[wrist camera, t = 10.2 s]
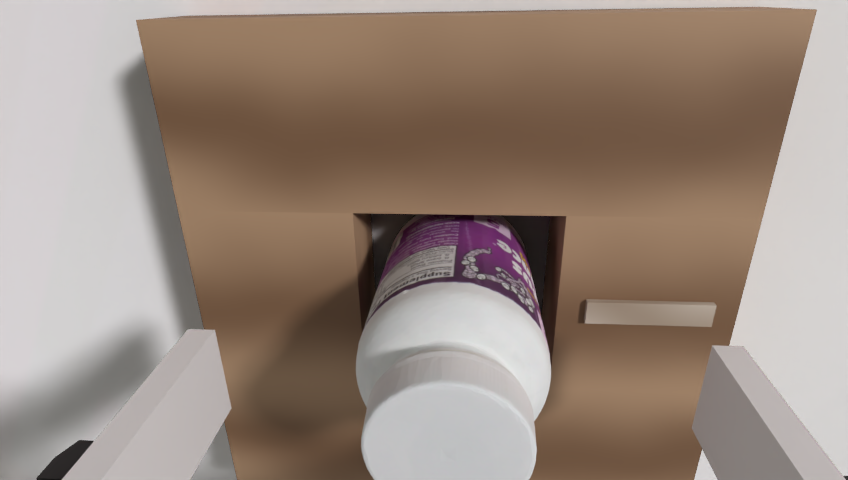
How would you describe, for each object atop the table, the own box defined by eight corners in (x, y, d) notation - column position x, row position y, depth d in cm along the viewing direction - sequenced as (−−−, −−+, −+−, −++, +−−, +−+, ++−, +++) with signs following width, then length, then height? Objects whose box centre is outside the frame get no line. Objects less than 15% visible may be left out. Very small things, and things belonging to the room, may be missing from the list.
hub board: (187, 15, 18) (131, 20, 15) (759, 6, 16) (821, 10, 13) (263, 433, 25) (236, 490, 22) (661, 451, 24) (687, 514, 21)
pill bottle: (554, 280, 21) (616, 489, 12) (441, 342, 22) (422, 566, 14) (477, 168, 19) (483, 316, 10) (361, 243, 21) (282, 426, 12)
